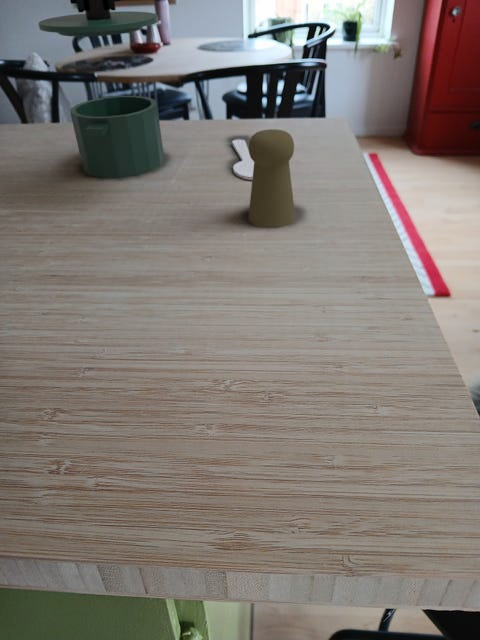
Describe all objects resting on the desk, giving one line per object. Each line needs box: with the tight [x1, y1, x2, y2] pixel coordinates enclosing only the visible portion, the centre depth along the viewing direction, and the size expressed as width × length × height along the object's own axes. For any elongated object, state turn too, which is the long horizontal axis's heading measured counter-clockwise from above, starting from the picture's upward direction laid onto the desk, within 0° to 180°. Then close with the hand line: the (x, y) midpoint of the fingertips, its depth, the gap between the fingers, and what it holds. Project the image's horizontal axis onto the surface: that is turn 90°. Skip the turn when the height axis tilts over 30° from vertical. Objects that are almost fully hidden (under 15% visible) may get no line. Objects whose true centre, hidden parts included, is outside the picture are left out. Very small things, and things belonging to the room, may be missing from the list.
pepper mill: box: [248, 128, 296, 229], centre depth 61 cm, size 6×6×11 cm
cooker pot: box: [70, 95, 165, 179], centre depth 79 cm, size 13×18×10 cm
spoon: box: [231, 139, 254, 181], centre depth 82 cm, size 5×18×1 cm, turn 8°
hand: (97, 8), depth 59 cm, fingers closed on pot lid, 2 cm apart
